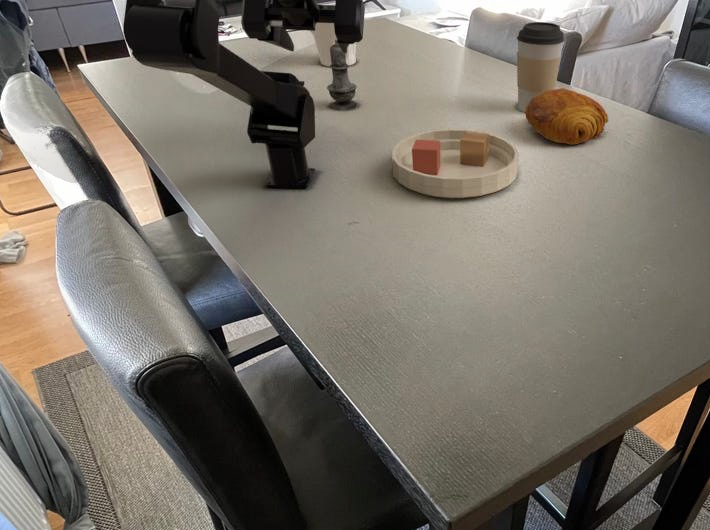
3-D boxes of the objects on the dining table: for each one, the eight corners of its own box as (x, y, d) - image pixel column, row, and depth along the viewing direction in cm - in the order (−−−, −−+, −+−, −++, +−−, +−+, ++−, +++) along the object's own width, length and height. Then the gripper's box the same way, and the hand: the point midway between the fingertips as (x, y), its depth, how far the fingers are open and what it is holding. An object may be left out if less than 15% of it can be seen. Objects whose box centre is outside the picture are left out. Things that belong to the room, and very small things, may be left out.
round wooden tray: (519, 202, 88) (521, 180, 86) (385, 199, 89) (383, 177, 86) (514, 150, 103) (516, 130, 101) (399, 148, 103) (398, 127, 101)
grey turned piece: (352, 111, 117) (345, 44, 109) (325, 109, 118) (315, 42, 109) (362, 102, 121) (355, 36, 113) (335, 100, 122) (327, 34, 114)
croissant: (542, 161, 105) (548, 117, 99) (515, 119, 114) (519, 77, 108) (615, 151, 108) (626, 108, 101) (583, 111, 117) (591, 69, 111)
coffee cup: (505, 110, 118) (510, 25, 108) (522, 98, 124) (529, 16, 114) (546, 118, 115) (555, 31, 105) (562, 105, 121) (573, 21, 111)
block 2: (483, 166, 96) (484, 142, 94) (460, 164, 97) (460, 139, 94) (488, 157, 99) (489, 133, 96) (466, 155, 100) (466, 131, 97)
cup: (306, 58, 144) (298, 6, 137) (355, 53, 148) (350, 2, 141) (319, 72, 136) (311, 17, 129) (370, 66, 140) (366, 12, 132)
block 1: (437, 175, 94) (437, 150, 91) (413, 173, 94) (411, 148, 91) (440, 165, 97) (440, 140, 94) (416, 163, 97) (415, 139, 94)
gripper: (355, -70, 84) (376, 5, 99) (228, -73, 85) (269, 1, 100) (349, 6, 83) (372, 69, 99) (222, 2, 84) (264, 65, 100)
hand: (319, 49), depth 100 cm, fingers open, 9 cm apart
